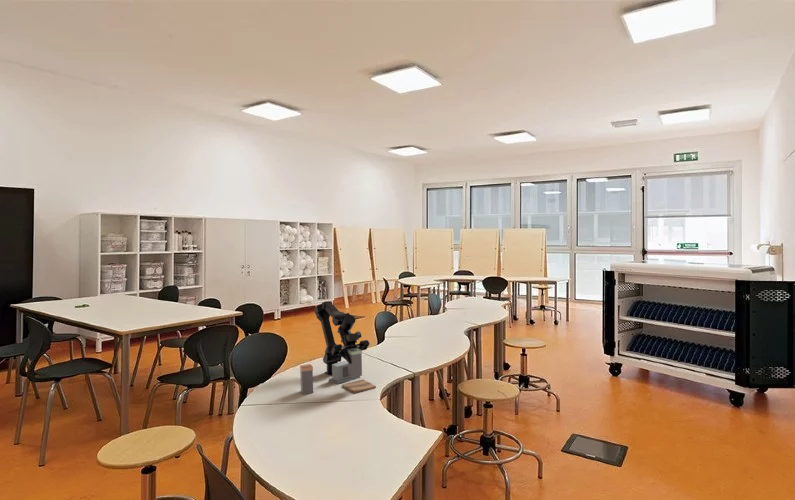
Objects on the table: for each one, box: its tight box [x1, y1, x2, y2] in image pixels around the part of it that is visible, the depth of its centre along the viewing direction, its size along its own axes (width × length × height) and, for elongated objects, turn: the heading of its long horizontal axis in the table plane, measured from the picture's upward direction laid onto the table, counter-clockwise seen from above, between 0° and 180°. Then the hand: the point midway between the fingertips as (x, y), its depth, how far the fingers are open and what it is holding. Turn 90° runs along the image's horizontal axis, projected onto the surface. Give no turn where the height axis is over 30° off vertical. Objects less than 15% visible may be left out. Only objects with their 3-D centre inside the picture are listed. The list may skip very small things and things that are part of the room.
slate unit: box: [328, 360, 361, 385], centre depth 229 cm, size 8×14×8 cm, turn 132°
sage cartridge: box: [348, 348, 363, 378], centre depth 214 cm, size 5×5×12 cm
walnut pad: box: [341, 379, 377, 394], centre depth 217 cm, size 12×12×1 cm
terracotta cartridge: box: [299, 363, 314, 395], centre depth 212 cm, size 5×5×12 cm
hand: (356, 362), depth 213 cm, fingers closed on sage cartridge, 5 cm apart
